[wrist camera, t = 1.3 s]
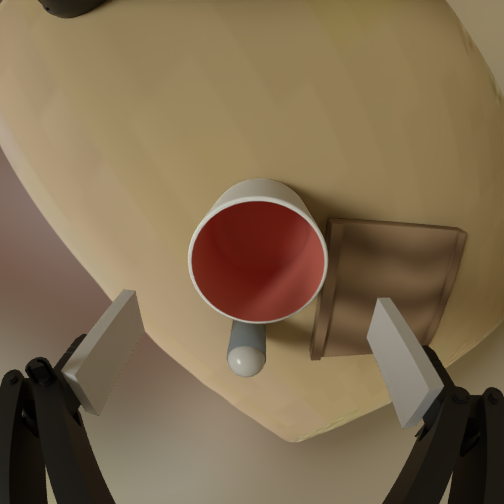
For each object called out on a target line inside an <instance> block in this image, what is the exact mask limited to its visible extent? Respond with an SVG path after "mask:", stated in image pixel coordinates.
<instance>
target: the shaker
mask: <svg viewBox="0 0 504 504" xmlns="http://www.w3.org/2000/svg"><path fill="white" fill-rule="evenodd" d="M227 361H228V365H229V367H230V369H231V370H232V371H233V372H234V373H235V374H236V375H238V376H241V377H252V376H255V375H256V374H258V373H259V372H260V371H261V370H262V368H263V366H264V364H265V362H266V323H261V324H254V323H246V322H241V321H237V320H234V319H233V323H232V329H231V335H230V341H229V347H228V353H227Z"/></svg>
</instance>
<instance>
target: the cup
mask: <svg viewBox="0 0 504 504" xmlns="http://www.w3.org/2000/svg"><path fill="white" fill-rule="evenodd" d="M188 267H189V272H190V276H191V279H192V282H193V284H194V286H195V288H196V290H197V291H198V293H199V294H200V296H201V297H202V298H203V299H204V300H205V301H206V302H207V304H209V305H210V306H211V307H212V308H213V309H215V310H216V311H218V312H219V313H221V314H223V315H224V316H227V317H229V318H231V319H234V320H237V321H241V322H246V323H254V324H261V323H272V322H277V321H280V320H283V319H286V318H289V317H291V316H293V315H295V314H296V313H298V312H300V311H301V310H303V309H304V308H305V307H306V306H307V305H309V304H310V303H311V302H312V300H313V299H314V298H315V297H316V295H317V294H318V293H319V291H320V289H321V287H322V286H323V283H324V281H325V278H326V274H327V269H328V251H327V246H326V243H325V240H324V237H323V235H322V233H321V231H320V229H319V228H318V226H317V224H316V222H315V221H314V219H313V217H312V216H311V214H310V212H309V211H308V209H307V208H306V206H305V204H304V203H303V201H302V200H301V198H300V197H299V196H298V195H297V194H296V193H295V192H294V191H293V190H292V189H290V188H289V187H287V186H286V185H284V184H282V183H280V182H277V181H274V180H270V179H250V180H245V181H242V182H240V183H237V184H235V185H234V186H232V187H230V188H229V189H228V190H226V191H225V192H224V193H223V194H222V195H221V196H220V198H219V199H218V200H217V201H216V203H215V204H214V205H213V207H212V208H211V209H210V211H209V212H208V213H207V215H206V216H205V217H204V219H203V220H202V221H201V223H200V224H199V225H198V227H197V229H196V230H195V232H194V234H193V236H192V239H191V242H190V246H189V251H188Z"/></svg>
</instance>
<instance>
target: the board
mask: <svg viewBox="0 0 504 504" xmlns="http://www.w3.org/2000/svg"><path fill="white" fill-rule="evenodd" d="M466 235H467V233H466V232H464V231H462V230H461V229H459V228H457V227H447V226H436V225H425V224H414V223H401V222H387V221H373V220H356V219H338V218H328V220H327V230H326V240H325V243H326V246H327V251H328V269H327V274H326V278H325V281H324V283H323V286H322V287H321V289H320V291H319V295H318V301H317V308H316V314H315V320H314V326H313V332H312V338H311V343H310V349H309V351H310V356H311V360H320V359H321V357H332V356H350V355H364V354H373V351H372V349H371V347H370V344H369V342H368V340H367V338H366V337H367V334H368V331H369V327H370V324H371V321H372V317H373V314H374V310H375V306H376V302H377V299H378V298H390V299H391V300H392V302H393V303H394V304H395V306H396V307H397V309H398V310H399V312H400V313H401V315H402V316H403V318H404V320H405V321H406V323H407V324H408V326H409V327H410V329H411V330H412V332H413V334H414V335H415V337H416V338H417V340H418V342H419V343H420V345H421V346H422V345H428V346H429V344H430V342H431V340H432V337H433V335H434V333H435V330H436V328H437V326H438V323H439V321H440V318H441V316H442V313H443V311H444V308H445V305H446V303H447V300H448V297H449V294H450V291H451V288H452V285H453V282H454V279H455V276H456V273H457V269H458V266H459V262H460V259H461V255H462V251H463V247H464V243H465V239H466Z"/></svg>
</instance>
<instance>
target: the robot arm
mask: <svg viewBox="0 0 504 504" xmlns="http://www.w3.org/2000/svg"><path fill="white" fill-rule="evenodd" d="M38 1H39V2H40V3H41V4H42V5H43V7H44V9H45V10H46V11H47V12H48V13H50V14H52V15H55V16H57V17H60V18H71V17H75V16H78V15H81V14H83V13H86V12H88V11H90V10H91V9H93V8H95V7H97V6H98V5H100V4H101V3H103V2H104V1H105V0H38ZM143 332H144V326H143V322H142V318H141V314H140V309H139V305H138V301H137V296H136V291H134V290H123V291H122V292H121V293H120V295H119V296H118V297H117V298H116V299H115V301H114V302H113V303H112V304H111V305H110V307H109V308H108V309H107V310H106V312H105V313H104V314H103V316H102V317H101V318H100V319H99V321H98V322H97V323H96V324H95V325H94V327H93V328H92V329H91V331H90V332H89V333H88V334H82V335H81V336H80V337H78V338H76V339H75V341H74V342H73V343H72V344H71V346H70V347H69V348H68V350H67V351H66V353H65V354H64V355H63V356H62V358H61V359H60V360H59V362H58V363H57V364H56V366H55V367H54V368H52V366H51V364H50V363H49V361H48V360H47V359H46V358H43V357H37V358H35V359H32V360H31V361H30V362H29V363H28V364H27V366H26V368H25V372H26V373H27V375H28V376H29V378H24V376H23V375H22V373H21V372H20V371H19V370H15V369H14V370H11V371H9V372H7V373H6V374H5V375H4V377H3V379H2V383H1V386H0V504H48V501H47V490H46V471H45V464H46V468H47V472H48V475H49V479H50V483H51V486H52V489H53V493H54V495H55V499H56V501H57V504H116V503H115V501H114V499H113V498H112V495H111V493H110V491H109V489H108V487H107V485H106V483H105V480H104V479H103V476H102V474H101V471H100V469H99V466H98V464H97V461H96V459H95V456H94V454H93V451H92V448H91V445H90V442H89V439H88V437H87V433H86V430H85V427H84V424H83V420H82V417H81V414H80V412H79V410H78V408H79V406H80V405H82V406H83V408H84V409H85V411H86V412H89V413H92V414H95V415H98V416H99V415H100V413H101V411H102V409H103V407H104V405H105V403H106V401H107V399H108V397H109V395H110V393H111V391H112V389H113V387H114V385H115V383H116V382H117V380H118V378H119V376H120V374H121V372H122V370H123V368H124V366H125V365H126V363H127V361H128V359H129V357H130V355H131V353H132V352H133V350H134V348H135V346H136V344H137V343H138V341H139V339H140V337H141V336H142V334H143ZM366 338H367V340H368V342H369V344H370V347H371V349H372V351H373V354H374V356H375V359H376V361H377V363H378V366H379V368H380V371H381V373H382V376H383V378H384V381H385V383H386V386H387V388H388V391H389V394H390V396H391V399H392V402H393V404H394V407H395V410H396V412H397V415H398V418H399V421H400V423H401V426H402V429H404V428H408V427H412V426H416V425H417V424H418V423H419V421H420V420H421V419H422V418H423V421H424V423H425V424H424V425H423V426H422V428H421V429H420V430H419V431H418V433H417V434H416V435H415V437H417V436H418V438H417V440H416V442H415V444H414V446H413V449H412V451H411V453H410V455H409V457H408V459H407V461H406V463H405V465H404V467H403V469H402V471H401V473H400V474H399V477H398V478H397V480H396V482H395V483H394V485H393V487H392V488H391V490H390V492H389V493H388V495H387V497H386V498H385V500H384V502H383V503H382V504H439V503H440V501H441V499H442V496H443V494H444V492H445V490H446V487H447V485H448V482H449V479H450V477H451V474H452V471H453V475H452V481H451V488H450V493H449V499H448V504H504V396H503V394H502V392H501V391H500V390H498V389H497V388H494V387H489V388H487V389H486V390H485V392H484V393H483V394H482V395H470V394H469V393H468V391H467V390H466V389H464V388H462V387H456V386H455V385H454V383H453V381H452V380H451V378H450V376H449V375H448V373H447V371H446V369H445V368H444V366H442V363H441V361H440V360H439V358H438V356H437V355H436V353H435V352H434V350H432V349H431V348H430V347H429V346H428V345H422V346H421V345H420V343H419V342H418V340H417V338H416V337H415V335H414V334H413V332H412V330H411V329H410V327H409V326H408V324H407V323H406V321H405V320H404V318H403V316H402V315H401V313H400V312H399V310H398V309H397V307H396V306H395V304H394V303H393V302H392V300H391V299H390V298H378V299H377V302H376V306H375V310H374V314H373V317H372V321H371V324H370V327H369V331H368V334H367V337H366ZM22 412H23V415H22Z"/></svg>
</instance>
